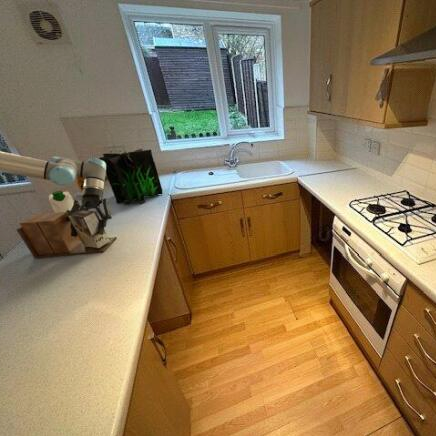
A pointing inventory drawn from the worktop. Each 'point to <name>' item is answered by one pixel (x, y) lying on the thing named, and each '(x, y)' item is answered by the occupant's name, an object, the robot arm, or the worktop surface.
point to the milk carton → (61, 201)
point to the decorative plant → (132, 175)
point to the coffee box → (88, 228)
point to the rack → (54, 236)
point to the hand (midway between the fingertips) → (87, 235)
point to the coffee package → (80, 183)
